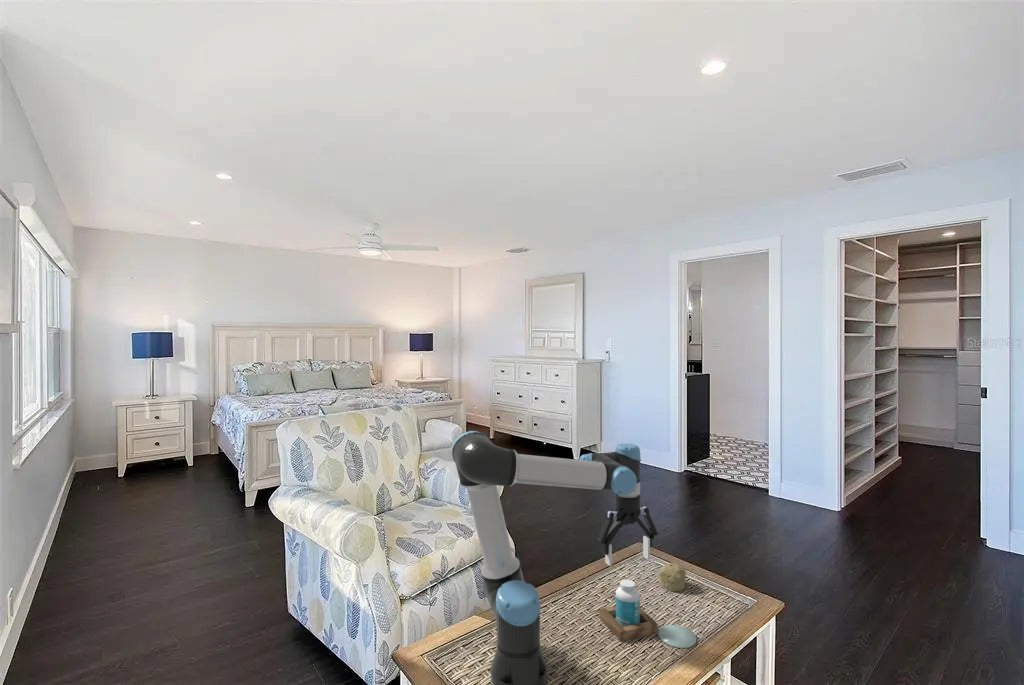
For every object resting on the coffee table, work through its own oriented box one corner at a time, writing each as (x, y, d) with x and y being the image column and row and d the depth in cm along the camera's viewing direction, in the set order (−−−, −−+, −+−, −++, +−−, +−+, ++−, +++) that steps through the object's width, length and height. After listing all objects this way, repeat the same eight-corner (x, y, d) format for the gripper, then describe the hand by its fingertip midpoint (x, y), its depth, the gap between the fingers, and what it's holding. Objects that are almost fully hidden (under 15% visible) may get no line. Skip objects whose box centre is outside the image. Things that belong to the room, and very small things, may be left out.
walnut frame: (620, 641, 150) (620, 632, 150) (599, 617, 163) (599, 609, 163) (657, 632, 154) (657, 623, 154) (634, 610, 167) (634, 602, 167)
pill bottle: (640, 633, 154) (640, 590, 154) (615, 630, 156) (615, 588, 155) (639, 619, 161) (639, 578, 161) (615, 617, 163) (615, 576, 162)
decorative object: (657, 595, 182) (660, 581, 176) (657, 570, 190) (660, 555, 184) (684, 601, 180) (688, 586, 174) (683, 574, 188) (687, 560, 182)
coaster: (672, 651, 145) (672, 650, 145) (651, 629, 156) (651, 628, 156) (704, 643, 149) (704, 642, 149) (681, 623, 159) (681, 621, 159)
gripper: (597, 502, 150) (597, 572, 151) (669, 493, 158) (668, 560, 158) (586, 494, 157) (586, 561, 158) (655, 486, 165) (654, 550, 165)
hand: (627, 561), depth 158 cm, fingers open, 13 cm apart
